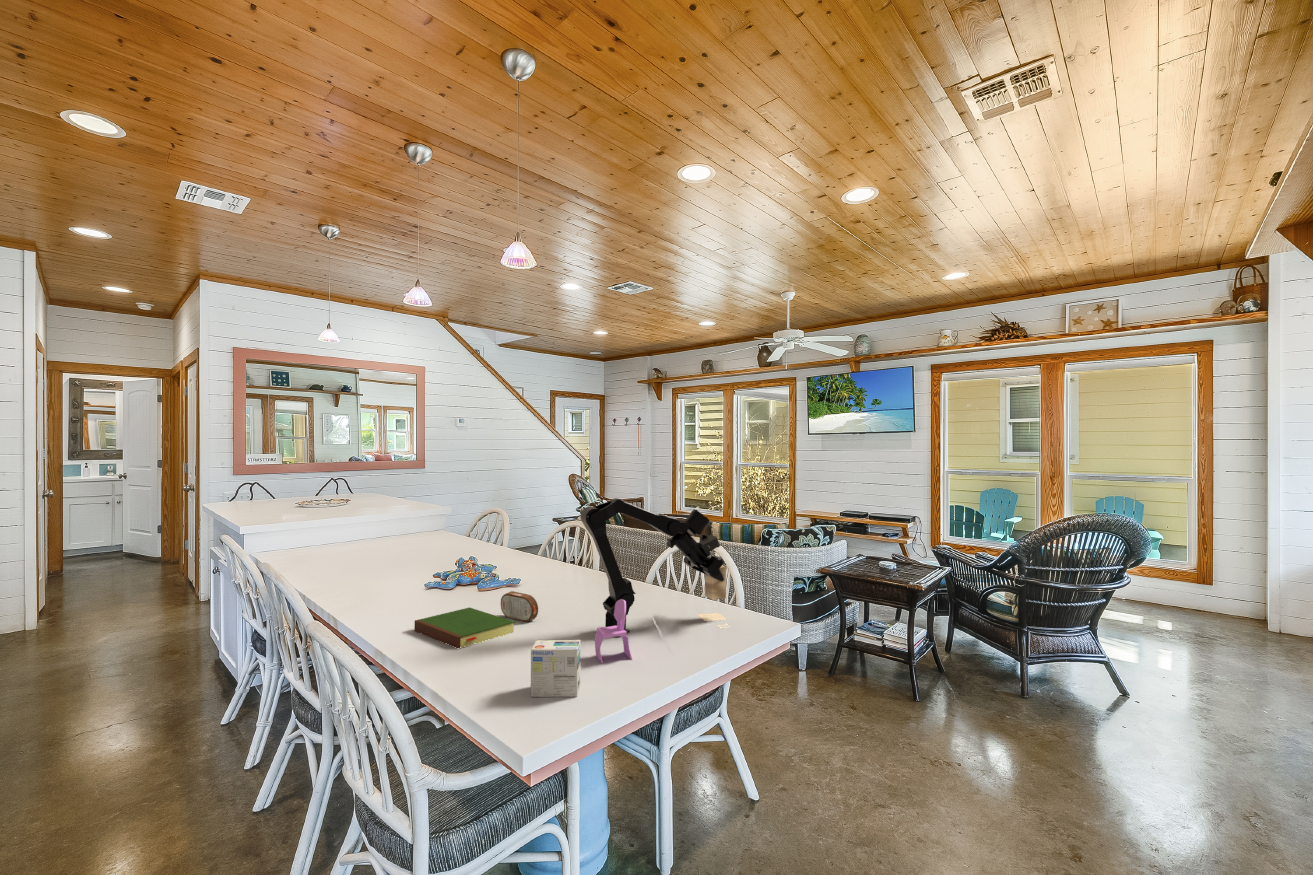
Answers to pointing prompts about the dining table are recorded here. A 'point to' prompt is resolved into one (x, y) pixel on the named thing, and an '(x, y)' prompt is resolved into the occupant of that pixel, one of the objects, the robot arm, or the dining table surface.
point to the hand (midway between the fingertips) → (719, 578)
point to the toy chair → (614, 630)
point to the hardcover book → (464, 627)
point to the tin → (519, 606)
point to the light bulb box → (555, 668)
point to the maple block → (716, 586)
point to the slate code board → (712, 617)
